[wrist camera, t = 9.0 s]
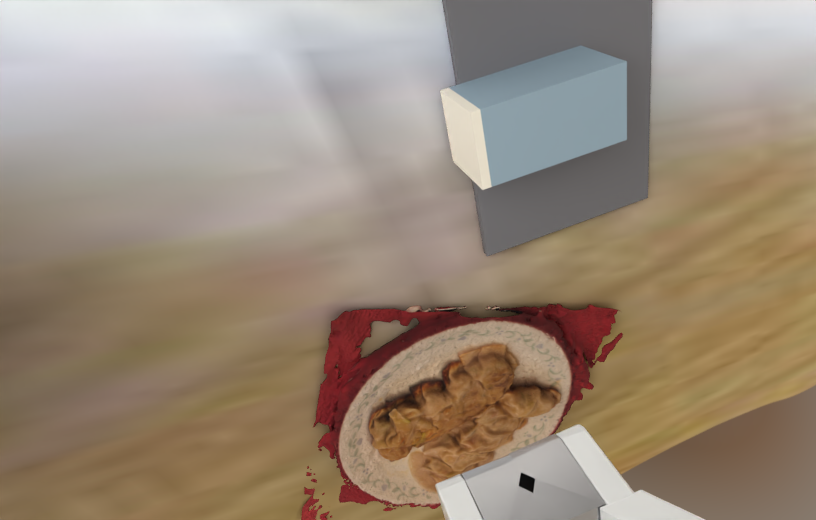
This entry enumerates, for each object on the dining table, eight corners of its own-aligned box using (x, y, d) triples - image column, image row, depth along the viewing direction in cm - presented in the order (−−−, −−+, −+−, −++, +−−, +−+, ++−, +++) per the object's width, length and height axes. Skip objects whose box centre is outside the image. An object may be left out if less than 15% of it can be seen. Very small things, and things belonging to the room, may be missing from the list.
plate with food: (329, 299, 44) (337, 326, 41) (612, 301, 53) (635, 323, 50) (297, 510, 55) (302, 543, 52) (535, 484, 64) (550, 511, 61)
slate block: (482, 190, 36) (627, 139, 37) (470, 112, 33) (626, 61, 34) (453, 161, 40) (583, 117, 41) (439, 90, 37) (580, 45, 39)
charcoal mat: (483, 252, 45) (487, 256, 45) (431, -65, 33) (434, -65, 33) (643, 194, 47) (647, 197, 47) (648, -125, 35) (654, -126, 35)
